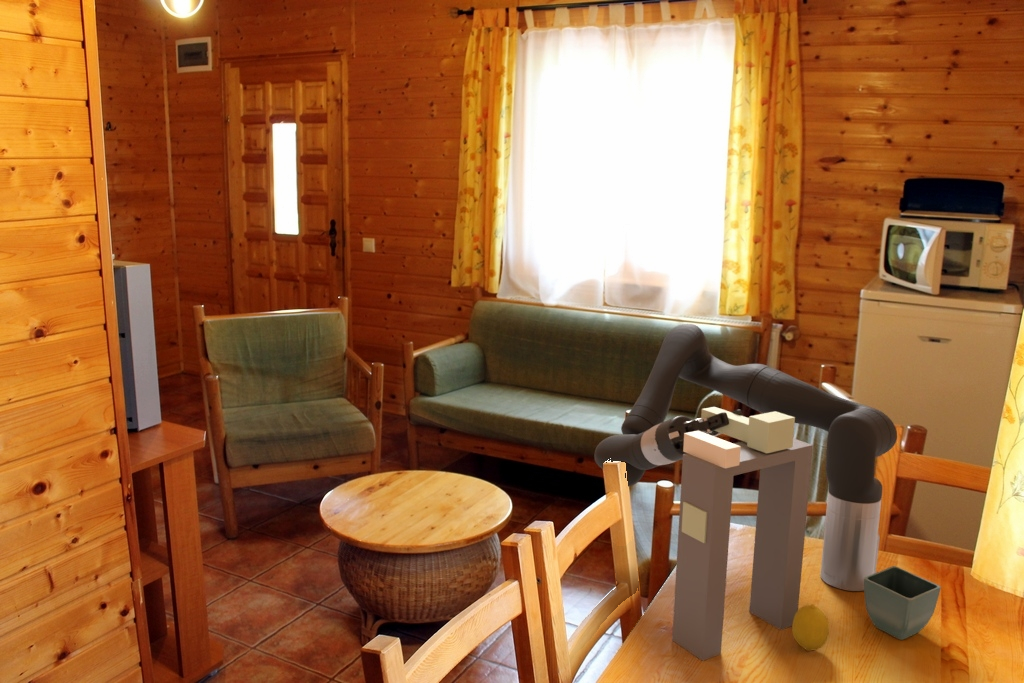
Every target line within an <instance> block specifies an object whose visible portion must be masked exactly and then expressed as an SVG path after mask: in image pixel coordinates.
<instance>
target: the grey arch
mask: <svg viewBox="0 0 1024 683" xmlns="http://www.w3.org/2000/svg"><path fill="white" fill-rule="evenodd" d="M733 444H736V445H739V446H741V449H740V463H739V465H738V466H734V467H730V468H722V467H720V466H718V465H715V464H713V463H710V462H708V461H705V460H703V459H700V458H698V457H696V456H693V455H691V454H688V453H686V454H683V459H682V460H681V461H682V466H681V481H680V482H681V483H680V499H679V500H680V501H679V515H678V516H679V517H678V529H677V530H678V534H677V551H676V567H675V568H676V569H675V587H674V602H673V617H672V618H673V620H672V621H673V622H672V633H671V635H672V637H671V638H672V639H671V641H673V642H675V643H676V644H678V645H679V646H680V647H682V648H683V649H685V650H686V651H687V652H689V653H690V654H692V655H693V656H695V657H696V658H698V659H699V660H701V661H702V662H704V661H707V660H708V659H711V658H714V657H716V656H719V655H722V654H721V653H722V646H723V645H722V644H723V642H722V641H723V629H724V615H725V600H726V599H725V598H726V588H727V587H726V586H727V571H728V557H729V546H730V545H729V543H730V529H731V517H732V516H731V514H732V503H733V502H732V500H733V488H734V476H738V475H741V474H746V473H750V472H755V471H759V470H760V471H759V481H758V496H757V504H756V505H757V507H756V518H755V532H754V543H753V544H754V546H753V559H752V572H751V573H752V574H751V582H750V583H751V585H750V597H749V598H750V599H749V607H748V608H749V609H748V611H749V613H751V614H752V615H754V616H756V617H758V618H759V619H761V620H762V621H765V622H766V623H768V624H769V625H771V626H772V627H775V628H776V629H778V630H780V631H782V630H784V629H787V628H790V627H792V625H793V619H794V616H795V614H796V612H797V611H798V610H799V602H800V592H801V591H800V590H801V582H802V571H803V557H804V550H805V549H804V548H805V537H806V526H807V515H808V505H809V504H808V502H809V493H810V481H811V470H812V469H811V468H812V461H813V460H812V458H813V448H814V445H813V444H811V443H808V442H805V441H803V440H800V439H797V438H794V437H793V447H792V448H788V449H784V450H779V451H775V452H771V453H764V452H761V451H758V450H756V449H753V448H750V447H748V446H747V442H744V441H742V440H741V441H738V442H733Z"/></svg>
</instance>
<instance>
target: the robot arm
mask: <svg viewBox="0 0 1024 683" xmlns="http://www.w3.org/2000/svg"><path fill="white" fill-rule="evenodd" d="M679 378H680V379H682V380H685V381H686V382H689V383H692V384H696V385H698V386H701V387H704V388H706V389H710V390H713V391H715V392H717V393H719V394H722V395H724V396H726V397H728V398H730V399H732V400H735V401H737V402H739V403H741V404H743V405H744V406H747V407H749V408H750V409H752V410H754V411H757V412H759V413H760V414H764V413H769V412H774V411H776V412H779V413H782V414H786V415H789V416H792V417H795V423H794V424H799V425H806V426H810V427H812V428H813V427H815V428H817V429H821V430H824V431H825V432H828V433H827V437H826V438H827V439H826V451H825V452H826V454H825V476H826V480H827V482H828V487H827V488H828V490H827V491H828V492H827V499H826V502H827V503H826V511H825V522H824V523H825V524H824V533H823V543H822V544H823V545H822V555H821V563H820V564H821V566H820V575H819V576H820V578H821V580H822V581H823V582H824V583H826V584H827V585H830V586H831V587H834V588H837V589H840V590H844V591H851V592H861V591H863V592H864V578H865V577H866V576H869V575H872V574H874V573H877V564H878V556H879V549H880V548H879V546H880V540H881V539H880V537H881V536H880V533H879V525H880V518H881V507H882V506H881V505H882V498H883V484H882V483H881V481H880V480H879V479H877V478H876V477H875V466H876V465H875V464H876V459H877V458H878V457H881V456H883V455H885V454H887V453H888V452H890V450H892V448H894V446H895V445H896V443H897V440H898V431H897V427H896V425H895V424H894V421H893V420H892V419H891V418H890V417H889V416H888V415H887V414H886V413H885V412H883V411H881V410H879V409H877V408H876V407H875V408H874V407H872V406H868V405H865V404H862V403H858V402H855V401H854V400H853V401H852V400H850V399H846V398H843V397H839V396H836V395H834V394H832V393H830V392H828V391H825V390H823V389H821V388H818V387H817V386H814V385H812V384H810V383H807V382H806V381H802V380H801V379H798V378H796V377H794V376H792V375H790V374H787V373H786V372H783V371H781V370H779V369H777V368H773V367H772V366H769V365H766V364H762V363H748V364H742V365H734V364H730V363H728V362H725V361H723V360H721V359H719V358H717V357H715V356H714V355H713V354H712V353H711V352H710V348H709V345H708V342H707V338H706V336H705V333H704V332H703V330H702V329H701V328H700V327H699V326H698V325H695V324H693V323H682V324H679V325H677V326H674V327H673V328H671V329H670V331H668V332H667V334H666V335H665V337H664V339H663V341H662V343H661V346H660V349H659V352H658V354H657V356H656V359H655V361H654V364H653V367H652V369H651V371H650V374H649V376H648V378H647V380H646V382H645V385H644V386H643V389H642V390H641V393H640V394H639V396H638V397H637V399H636V401H635V403H634V404H633V406H632V408H631V409H630V411H629V413H628V414H627V415H626V417H625V418H624V421H623V422H622V424H621V427H620V428H621V432H622V434H615V435H614V434H613V435H610V436H608V437H606V438H604V439H603V440H602V441H600V442H599V443H598V444H597V445H596V448H595V450H594V462H595V463H596V465H598V467H599V468H601V469H602V470H603V463H604V462H605V461H607V460H608V459H609V460H608V461H610V460H611V462H613V461H621V462H625V463H626V471H627V481H628V487H627V488H629V487H632V486H634V485H636V484H638V482H640V480H641V479H642V477H644V475H645V472H646V471H647V470H652V469H655V468H657V467H661V466H664V465H669V464H670V465H671V464H672V463H676V462H679V461H680V460H681V461H682V460H683V454H686V452H683V447H684V433H688V432H693V431H701V432H704V433H706V434H709V435H712V436H714V437H717V436H719V435H722V433H720V432H717V431H714V430H716V429H718V428H721V427H724V426H726V425H728V424H729V420H728V416H727V414H726V412H722V413H719V414H717V415H714V416H712V417H709V418H706V417H705V418H703V419H701V417H699V418H694V419H692V418H690V417H688V416H686V415H677V416H675V417H672V418H670V419H668V420H667V419H666V418H667V416H668V413H669V410H670V407H671V404H672V401H673V400H672V399H673V396H674V391H675V388H676V384H677V382H678V379H679ZM731 412H732V413H735V414H738V415H741V416H744V414H743V411H742V409H735V410H732V411H731ZM610 458H611V459H610ZM606 463H607V462H606ZM625 478H626V473H625Z"/></svg>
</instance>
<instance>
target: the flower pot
mask: <svg viewBox="0 0 1024 683" xmlns="http://www.w3.org/2000/svg"><path fill="white" fill-rule="evenodd" d="M941 589H942V586H941V585H939V584H937V583H935V582H932V581H930V580H928V579H926V578H923V577H921V576H919V575H916V574H914V573H912V572H909V571H908V570H906V569H903V568H901V567H899V566H896V565H893V566H890V567H887V568H885V569H882V570H880V571H878V572H877V571H876V573H874V574H872V575H869V576H866V577H865V578H864V590H863V592H864V604H865V608H866V612H867V614H868V617H869V619H870V620H871V622H872V624H873V626H874V627H875V628H877V629H878V630H880V631H882V632H884V633H886V634H889V635H890V636H892V637H894V638H895V639H898V640H900V641H904V640H906V639H907V638H910V637H911V636H914V635H916V634H918V633H919V632H921V630H923V628H925V626H926V625H927V624H928V623H929V622H930V620H931V619H932V616H933V615H934V614H935V609H936V606H937V603H938V600H939V595H940V593H941Z"/></svg>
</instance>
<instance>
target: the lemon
mask: <svg viewBox="0 0 1024 683" xmlns="http://www.w3.org/2000/svg"><path fill="white" fill-rule="evenodd" d="M791 628H792V629H791V630H792V635H793V637H794V640H795V641H796V643H797V644H798V645H799V646H801V648H803V649H805V650H806V651H808V652H811V651H812V650H813V651H815V650H818V649H821V648H822V647H823V646H824V645H825V644H826V643H827V640H828V638H829V634H830V624H829V620H828V617H827V615H826V613H825V612H824V611H823V609H821V608H820V607H818V606H816V605H815V604H808V605H807V604H806V605H803V606H801V607H799V608H798V611H797V612H796V614H795V616H794V619H793V625H792V626H791Z"/></svg>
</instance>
